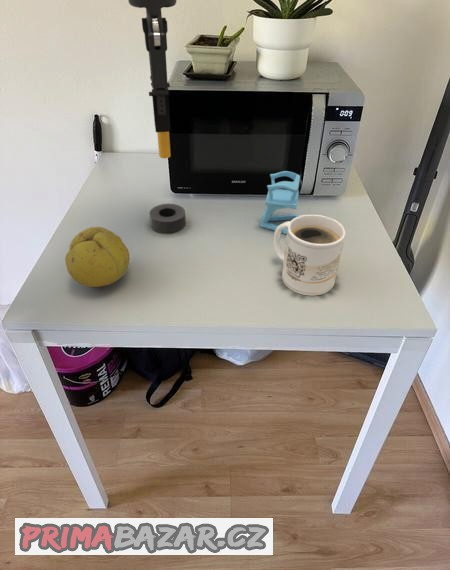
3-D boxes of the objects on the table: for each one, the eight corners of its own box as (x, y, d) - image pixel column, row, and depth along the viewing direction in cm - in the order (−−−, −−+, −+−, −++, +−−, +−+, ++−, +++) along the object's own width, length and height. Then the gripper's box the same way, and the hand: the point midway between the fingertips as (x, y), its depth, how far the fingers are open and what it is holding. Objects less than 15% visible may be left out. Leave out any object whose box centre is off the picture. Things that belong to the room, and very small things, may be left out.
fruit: (138, 262, 86) (132, 218, 79) (124, 302, 77) (116, 256, 70) (82, 259, 86) (72, 215, 80) (61, 299, 77) (47, 253, 71)
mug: (285, 298, 78) (292, 247, 71) (270, 259, 87) (274, 209, 80) (342, 293, 80) (354, 242, 73) (321, 254, 89) (330, 206, 82)
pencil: (159, 158, 85) (152, 75, 76) (159, 154, 87) (151, 71, 77) (171, 158, 85) (165, 74, 76) (170, 153, 87) (164, 71, 78)
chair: (262, 214, 101) (266, 164, 93) (299, 218, 99) (306, 168, 92) (257, 232, 95) (261, 180, 87) (296, 236, 94) (304, 185, 86)
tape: (151, 235, 93) (150, 223, 91) (150, 216, 99) (148, 204, 97) (187, 232, 94) (186, 220, 92) (183, 214, 100) (183, 202, 98)
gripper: (179, -20, 62) (186, 143, 77) (171, -30, 74) (178, 113, 89) (125, -20, 61) (143, 145, 76) (125, -30, 73) (141, 115, 88)
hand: (162, 128), depth 83 cm, fingers closed on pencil, 2 cm apart
